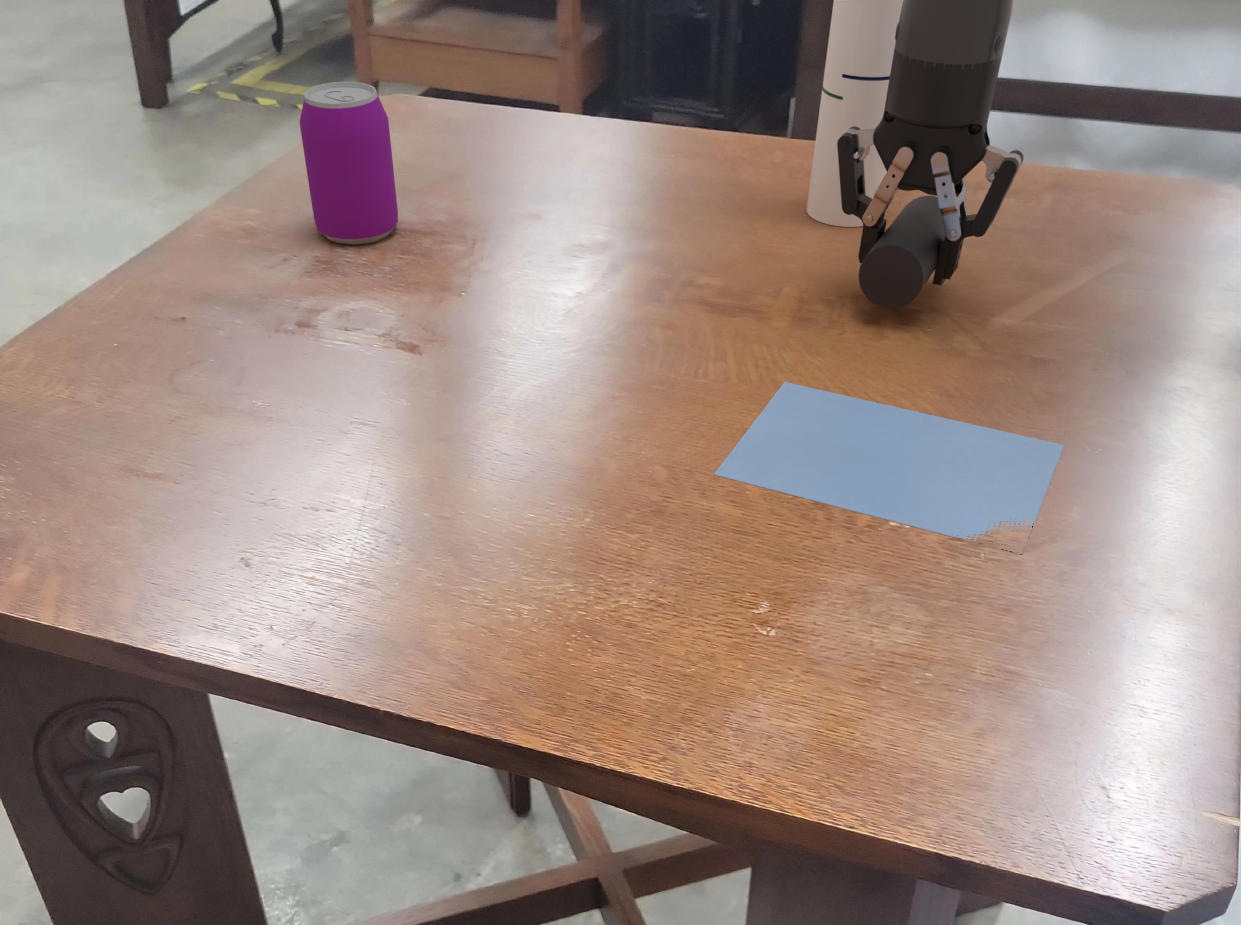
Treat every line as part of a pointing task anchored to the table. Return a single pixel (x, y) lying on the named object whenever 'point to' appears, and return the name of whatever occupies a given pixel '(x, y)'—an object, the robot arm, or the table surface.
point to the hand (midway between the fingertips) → (904, 274)
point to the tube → (904, 255)
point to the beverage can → (349, 162)
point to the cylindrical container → (852, 98)
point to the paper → (893, 463)
